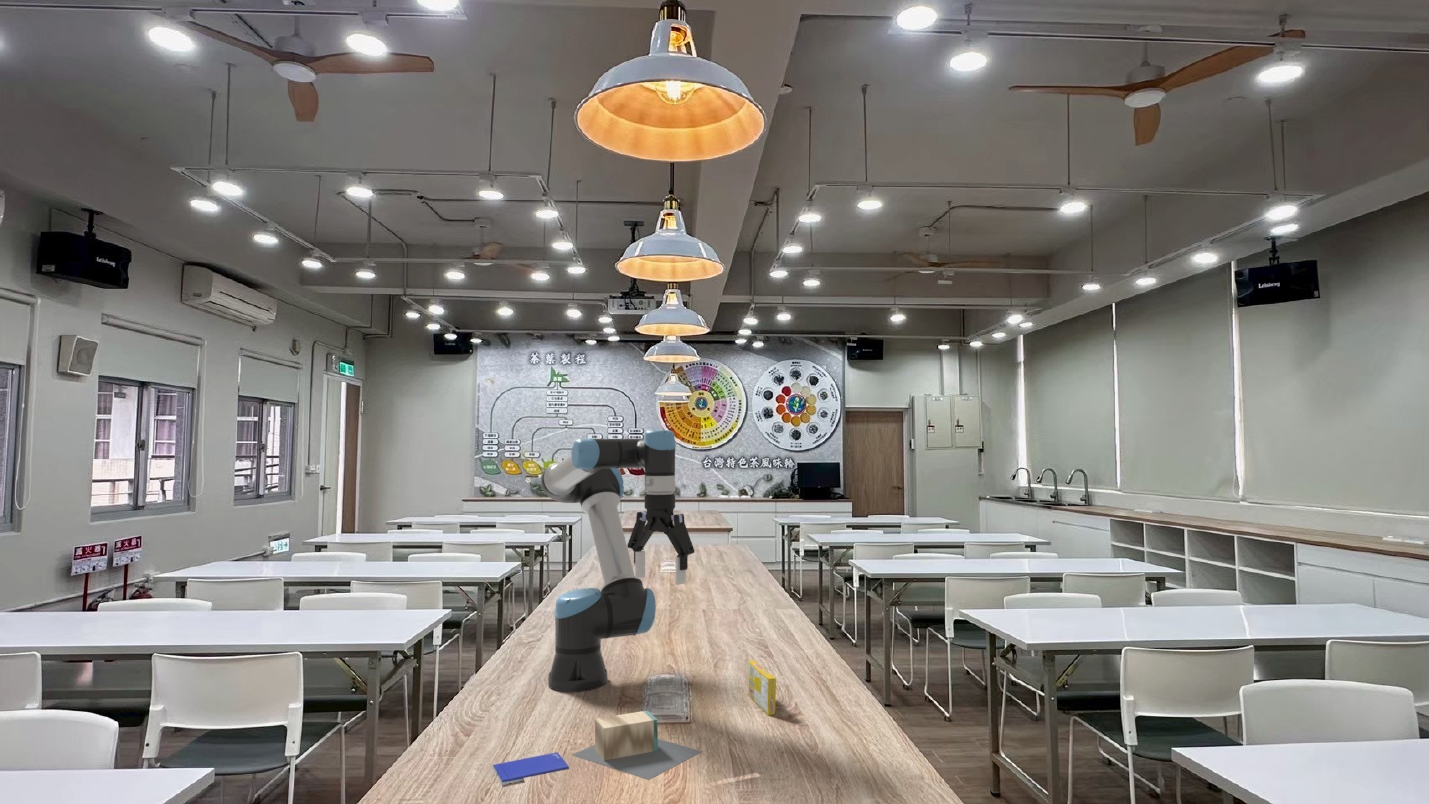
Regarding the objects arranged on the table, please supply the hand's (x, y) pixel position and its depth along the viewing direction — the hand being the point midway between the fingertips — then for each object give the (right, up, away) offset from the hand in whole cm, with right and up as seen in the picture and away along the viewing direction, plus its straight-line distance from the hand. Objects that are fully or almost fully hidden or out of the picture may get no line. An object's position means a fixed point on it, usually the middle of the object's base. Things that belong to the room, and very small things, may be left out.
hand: (660, 580), depth 188 cm
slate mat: (-2, -26, -37) cm, 45 cm away
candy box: (+24, -28, -6) cm, 38 cm away
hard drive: (-21, -27, -43) cm, 55 cm away
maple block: (-9, -22, -37) cm, 44 cm away
